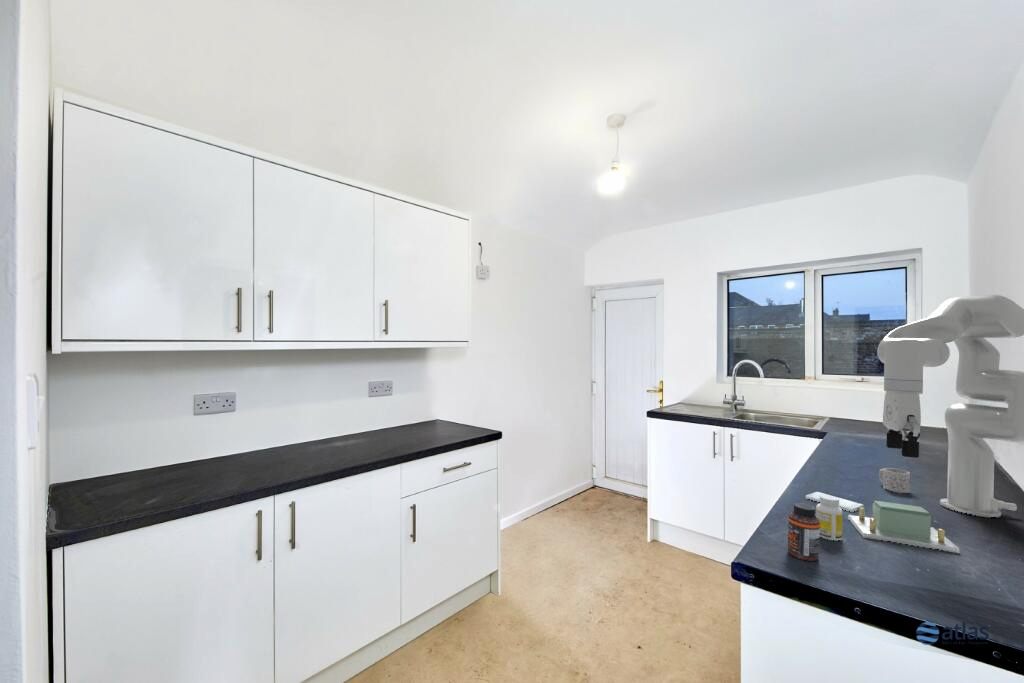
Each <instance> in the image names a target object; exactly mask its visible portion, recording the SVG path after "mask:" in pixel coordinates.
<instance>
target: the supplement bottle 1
mask: <svg viewBox="0 0 1024 683" xmlns="http://www.w3.org/2000/svg"><path fill="white" fill-rule="evenodd" d="M787 522H788V527H787V528H788V529H787V551H788V553H789V555H791V556H793V557H794V558H796V559H799V560H802V561H809V562H814V561H817V560H819V557H820V539H821V537H820V521H819V519H818V518H817V517H816V507H814V506H813V505H811V504H807V503H802V502H796V503H793V511H791V512H789V514H788V520H787Z"/></svg>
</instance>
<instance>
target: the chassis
mask: <svg viewBox="0 0 1024 683" xmlns="http://www.w3.org/2000/svg"><path fill="white" fill-rule="evenodd" d="M847 517H848V518H847V519H848V521H849V520H850V521H849V522H850V523H851V525H853V526H854V528H855V529H856V531H858V533H860V535H861V537H863V538H864V539H870V540H875V539H876V541H877V540H878V541H881V540H883V541H882V542H887V541H891V542H890V543H893V542H897V543H896V544H899V543H902V544H901V545H905V544H908V545H907V546H911V545H913V547H917V546H919V547H918V548H923V547H925V548H924V549H929V548H932V549H931V550H935V549H939V550H938V551H941V550H943V552H947V551H948V552H949V553H954V554H960V548H959V546H957V545H956V544H954V542H952V541H951V540H950V539H948V538H947V537H946V536H945V534H946V530H945V529H943V528H937V529H935V527H932V526H931V531H930V538H927V537H921V536H914V535H908V534H902V533H895V532H889V531H883V530H879V529H878V528H877V527H876V519H873V518H872V517H867V516H866V508H865V507H864V508H861V507H860V508H859V510H858V515H853V514H848V516H847Z"/></svg>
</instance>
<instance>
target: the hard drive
mask: <svg viewBox="0 0 1024 683" xmlns="http://www.w3.org/2000/svg"><path fill="white" fill-rule="evenodd" d="M820 495H829V496H833V495H830V494H827V493H823V492H821V491H820V492H819V491H815V492H812V493H809V494H806V495H805V497H804V498H806V499H805V500H807V499H810V500H809V501H811V500H813V501H812V502H814V501H817V502H816V503H818V502H820ZM833 497H836V498H838V499H839V505H838V507H839V508H841V509H843V510H842V511H845V510H846V512H849V511H850V513H854V511H855V512H857V511H859V508H860V507H861V508H865V505H864V504H862V503H859V502H856V501H853V500H848V499H845V498H841V497H837V496H835V495H834V496H833ZM820 503H821V502H820ZM820 503H819V504H820Z"/></svg>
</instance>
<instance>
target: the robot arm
mask: <svg viewBox="0 0 1024 683" xmlns="http://www.w3.org/2000/svg"><path fill="white" fill-rule="evenodd" d="M1022 336H1024V308H1023V307H1021V306H1020V305H1019V304H1017V303H1016V302H1015V301H1013V300H1012V299H1010V298H1008V297H1006V296H1004V295H1000V294H988V295H987V294H986V295H971V296H967V295H966V296H958V297H951V298H948V299H947V300H945V301H943V303H941V304H940V305H939V306H938V307H937V308H936V309H935V310H934V311H933V312H932V313H931V314H930V315H928V317H927V318H922V319H919V320H917V321H913V322H910V323H908V324H905V325H901V326H899V327H897V328H895V329H893V330H891V331H889V333H888V334H886V336H884V337H883V339H881V340H880V342H879V343H878V346H877V351H876V353H877V358H878V360H879V361H880V362H881V363H883V365H884V369H883V370H884V371H883V375H884V376H883V392H885V394H884V402H883V411H882V424H883V426H885V427H886V430H885V431H886V448H888V449H899V450H901V456H902V457H906V458H919V457H920V441H921V438H920V436H921V433H920V431H921V425H922V424H921V422H922V418H921V417H922V416H921V413H922V412H921V400H920V399H921V398H920V394H923V392H924V390H923V389H924V388H923V387H924V368H936V367H939V366H942V365H944V364H945V363H946V362H947V361H948V360H949V358H950V356H951V350H950V348H949V346H948V343H952V342H954V344H955V345H956V348H957V351H958V363H957V373H956V380H955V391H956V394H957V395H958V396H960V397H961V398H963V399H967V400H971V401H973V400H974V401H982V402H992V403H1003V404H1007V407H1003V406H1002V407H1000V406H992V405H986V404H985V405H984V404H975V403H974V404H973V403H955V404H951V405H950V406H948V407H947V408H946V410H945V412H944V422H945V427H946V432H947V440H948V441H947V442H948V444H947V445H948V448H947V449H948V450H947V452H948V453H947V455H948V456H947V485H946V486H947V490H946V494H947V495H946V496H947V497H946V498H941V499H940V500H939V504H940V506H942V507H944V508H946V509H948V508H949V509H948V510H951V511H954V510H955V511H954V512H957V511H958V513H961V512H962V514H965V513H967V514H966V515H969V514H972V515H971V516H975V515H976V517H983V518H991V517H996V518H1001V516H1002V512H1001V510H1003V509H1004V510H1007V511H1008V510H1010V511H1014V512H1015V511H1017V509H1018V506H1017V504H1016V503H1013V502H1012V503H1011V502H1005V501H1004V500H998V499H996V498H995V497H994V488H995V487H994V484H995V483H994V482H995V480H994V479H995V453H994V451H993V449H992V447H991V446H990V445H989V444H988V443H987V441H986V440H984V439H989V440H995V441H1001V442H1002V441H1003V442H1009V443H1021V444H1022V443H1024V371H1020V370H1011V369H1000V361H1001V353H1000V351H999V350H998V349H997V348H996V347H995V345H993V343H991V342H990V341H989V340H987V339H986V338H988V339H990V338H992V339H994V338H995V339H997V338H998V339H999V338H1000V339H1001V338H1003V339H1006V338H1007V339H1010V338H1011V339H1012V338H1013V339H1014V338H1019V337H1022Z"/></svg>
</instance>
